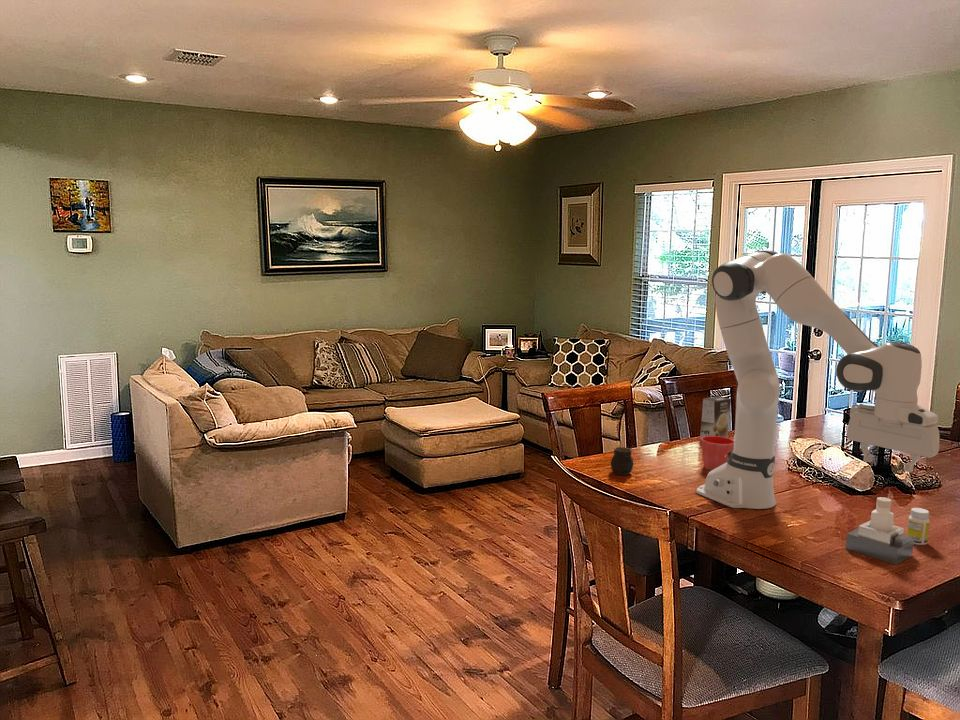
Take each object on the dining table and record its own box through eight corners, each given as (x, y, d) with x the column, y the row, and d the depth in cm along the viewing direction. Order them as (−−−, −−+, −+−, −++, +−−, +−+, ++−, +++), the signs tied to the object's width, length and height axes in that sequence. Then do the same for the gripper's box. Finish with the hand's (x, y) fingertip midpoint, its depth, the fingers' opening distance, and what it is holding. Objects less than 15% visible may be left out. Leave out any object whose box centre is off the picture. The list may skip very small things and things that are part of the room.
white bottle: (876, 532, 194) (880, 495, 193) (892, 537, 191) (896, 500, 190) (867, 535, 192) (871, 498, 191) (884, 540, 189) (888, 503, 187)
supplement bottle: (920, 538, 202) (924, 507, 201) (931, 545, 197) (935, 513, 196) (902, 538, 202) (905, 507, 200) (912, 545, 197) (916, 513, 196)
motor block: (845, 548, 194) (848, 523, 193) (862, 540, 200) (864, 516, 199) (896, 564, 185) (899, 538, 184) (912, 555, 191) (915, 530, 189)
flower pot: (728, 464, 265) (730, 436, 263) (736, 473, 254) (738, 444, 252) (696, 462, 266) (698, 434, 264) (702, 472, 255) (704, 443, 253)
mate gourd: (615, 468, 257) (617, 438, 255) (637, 472, 253) (639, 443, 251) (606, 473, 251) (608, 443, 249) (628, 478, 247) (630, 447, 245)
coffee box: (714, 443, 291) (717, 401, 288) (699, 440, 295) (702, 398, 293) (728, 440, 296) (731, 398, 294) (713, 436, 301) (716, 395, 299)
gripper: (845, 403, 192) (838, 457, 195) (935, 420, 177) (927, 479, 179) (857, 400, 196) (850, 453, 199) (946, 417, 181) (937, 474, 183)
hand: (887, 466), depth 189 cm, fingers open, 8 cm apart
